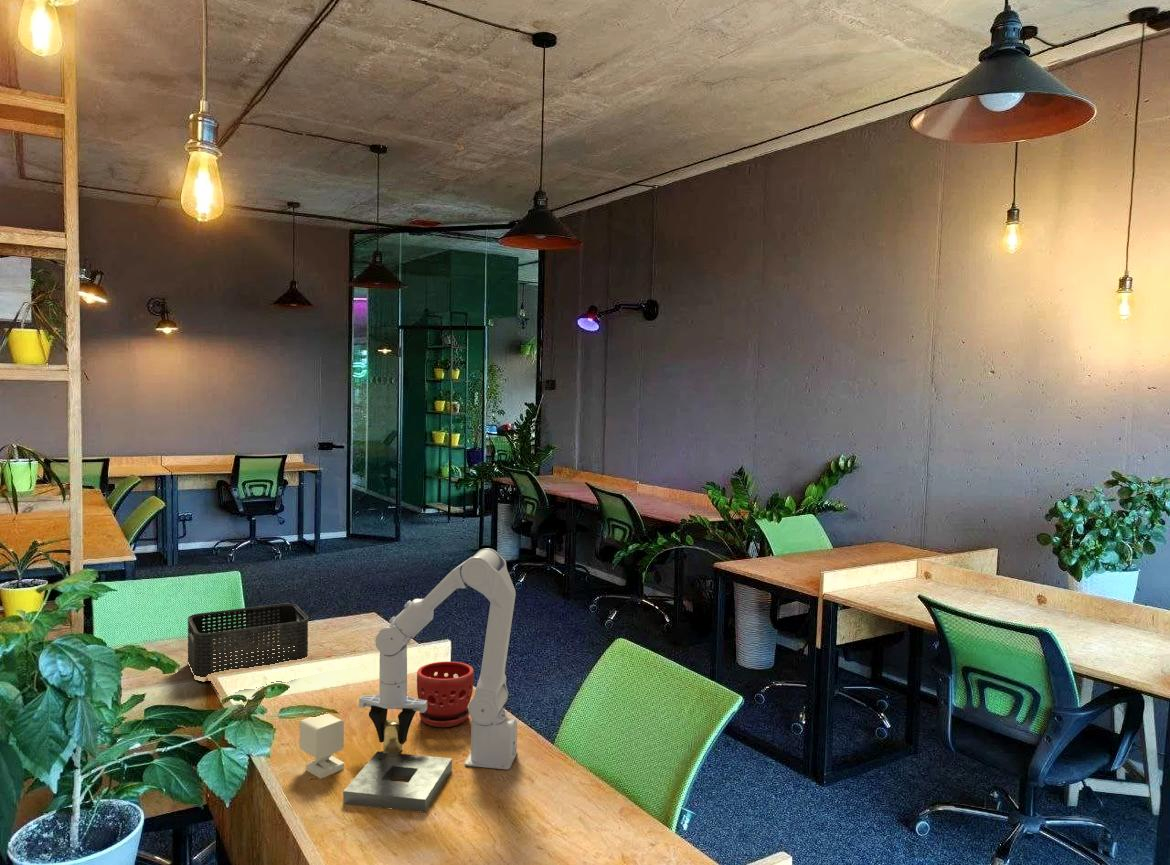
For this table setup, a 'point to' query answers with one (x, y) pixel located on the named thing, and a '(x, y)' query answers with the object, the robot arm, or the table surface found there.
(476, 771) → the table surface
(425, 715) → the plant pot
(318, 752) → the security camera
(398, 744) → the cylinder
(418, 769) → the jig plate
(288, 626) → the storage bin
